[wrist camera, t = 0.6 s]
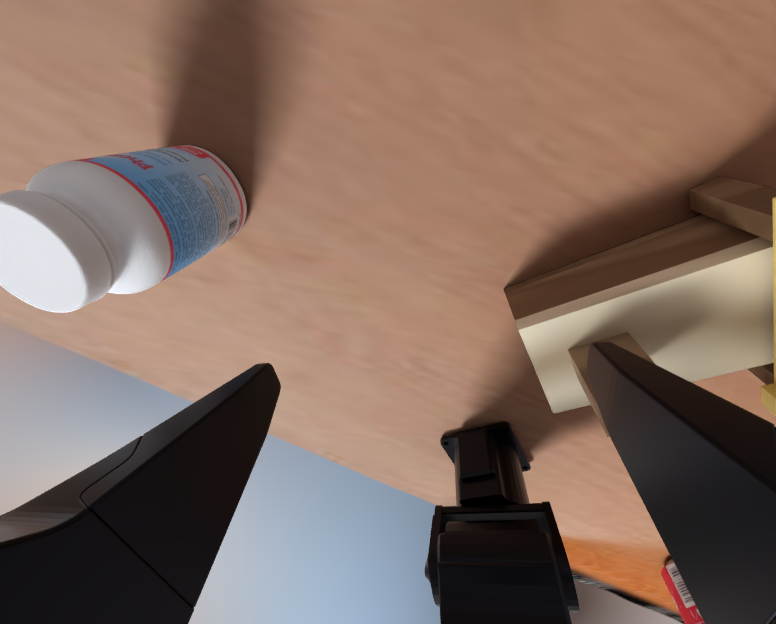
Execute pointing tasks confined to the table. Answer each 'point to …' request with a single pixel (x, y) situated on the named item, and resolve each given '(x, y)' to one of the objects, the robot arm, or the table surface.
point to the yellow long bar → (772, 394)
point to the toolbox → (660, 250)
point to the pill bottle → (115, 224)
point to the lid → (662, 323)
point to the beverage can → (681, 594)
